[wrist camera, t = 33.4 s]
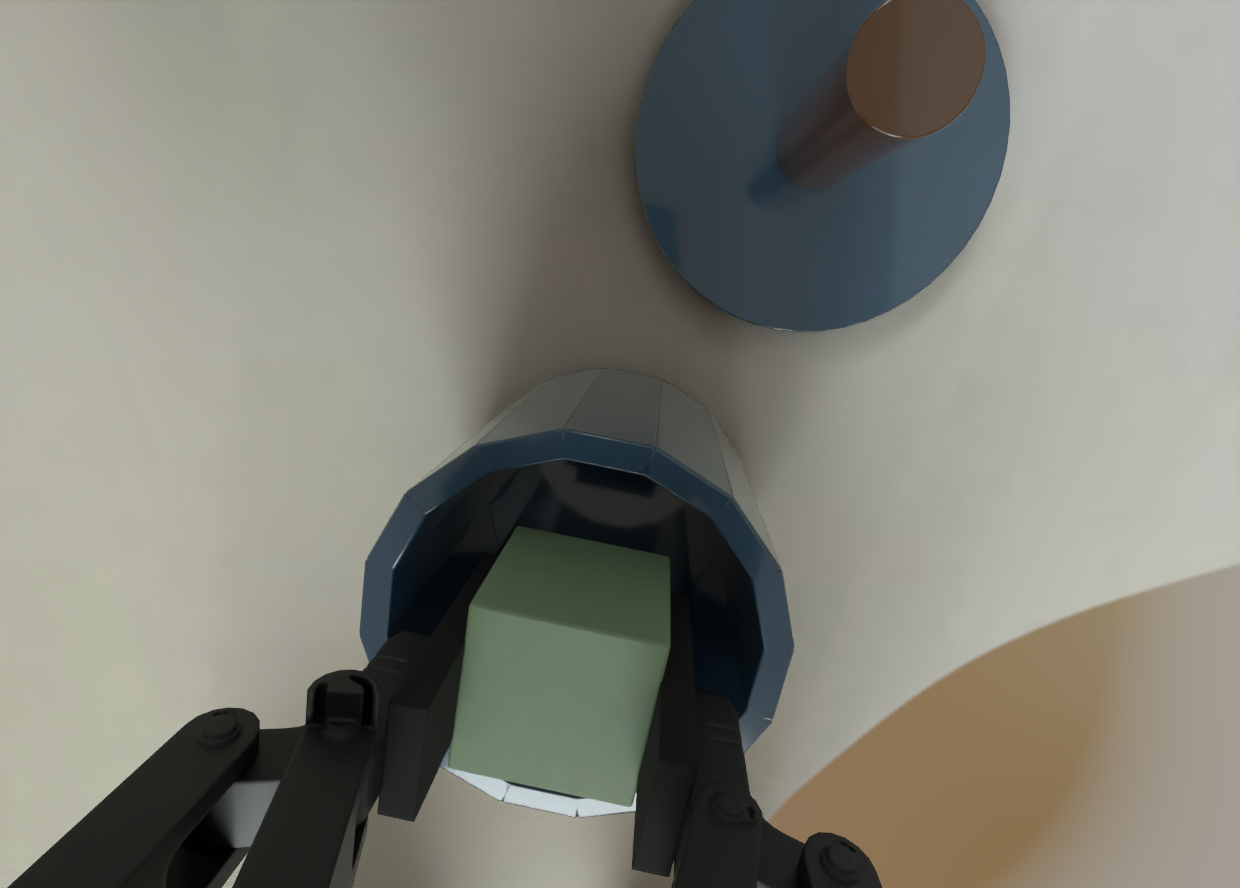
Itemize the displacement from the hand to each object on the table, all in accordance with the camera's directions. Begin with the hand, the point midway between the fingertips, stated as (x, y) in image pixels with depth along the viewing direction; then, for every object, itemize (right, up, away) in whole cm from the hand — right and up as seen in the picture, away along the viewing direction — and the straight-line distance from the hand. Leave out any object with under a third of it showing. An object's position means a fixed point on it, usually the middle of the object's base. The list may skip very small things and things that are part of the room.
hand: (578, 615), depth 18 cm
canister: (+1, +3, +9) cm, 9 cm away
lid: (+8, +15, +4) cm, 18 cm away
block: (0, 0, 0) cm, 0 cm away
